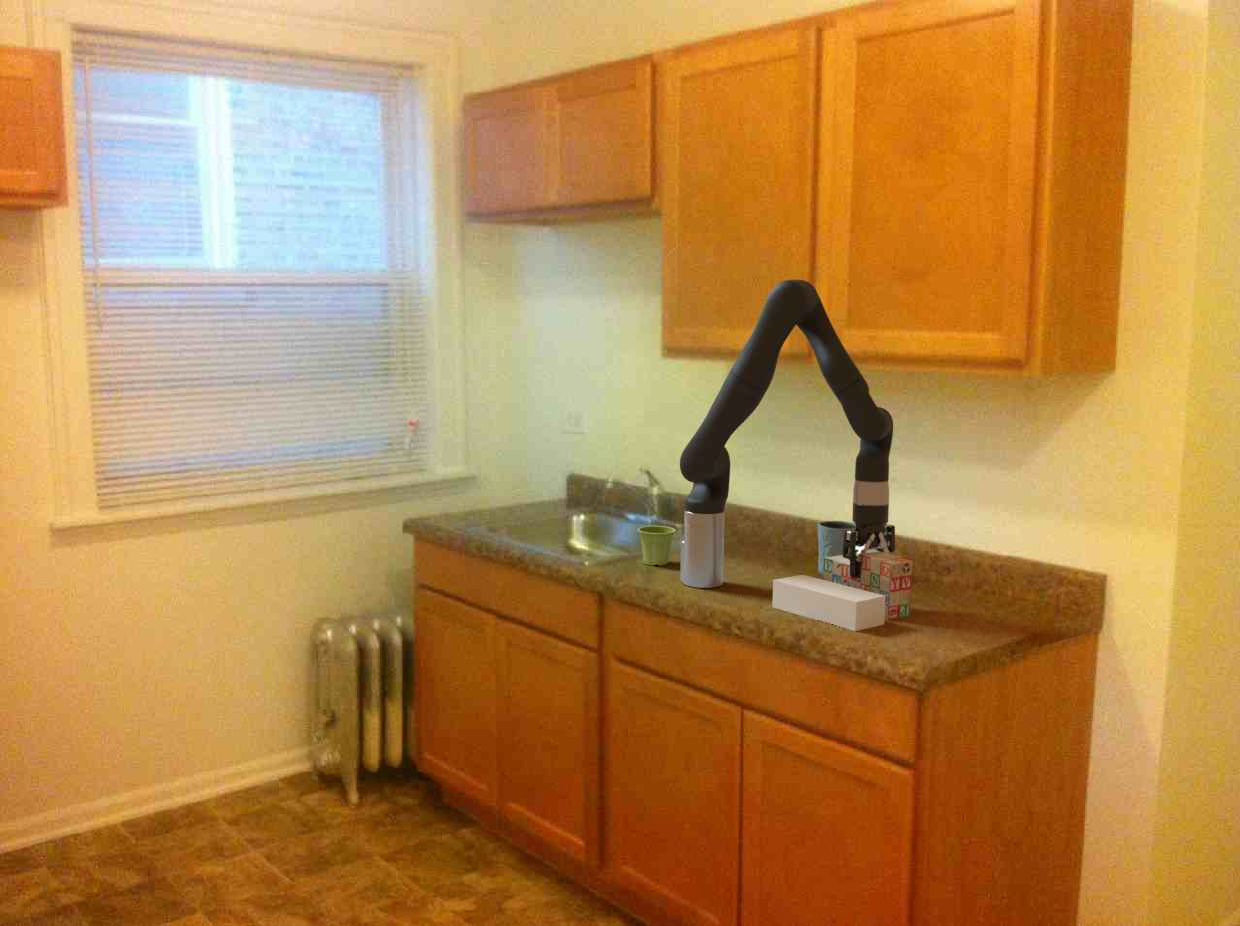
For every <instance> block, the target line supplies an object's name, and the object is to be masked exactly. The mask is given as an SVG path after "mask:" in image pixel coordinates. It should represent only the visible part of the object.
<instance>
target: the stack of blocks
mask: <svg viewBox="0 0 1240 926" xmlns="http://www.w3.org/2000/svg"><path fill="white" fill-rule="evenodd" d="M857 553H858V552H856V554H855V555H857ZM860 562H861V572H860V578H858V579H855V578H851V576H850V560H849V559H846V558H843V555H840V556H833V557H825V558H824V565H823V570H824V575H823V579H822V580H826V581H830V582H833V583H837V584H841V585H845V586H849V587H853V588H857V589H861V590H865V591H869V592H873V593H877V594H880V595H884V596H886V598H885V620H886V621H890V620H896V619H903V618H909V617H910V613H911V612H910V611H911V593H912V581H913V565H914V563H913V562H914V561H913V560H910V559H907V558H904V557H902V556H900V555H896V554H891V553H889V554H888V553H884V552H880V551H876V550H875V549H874V548H873V549H872V548H871V549H868V550H867V552H866V553H864V554H863V556H862V558H861V560H860Z"/></svg>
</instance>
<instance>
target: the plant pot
mask: <svg viewBox="0 0 1240 926" xmlns="http://www.w3.org/2000/svg"><path fill="white" fill-rule="evenodd" d="M637 532H638V533H639V537H640V543H641V544H640V545H641V552H642V561H643V564H645V565H647V566H655V565H658V566H661V567H663V566H666V565H667V564H668V563H669V559H670V558H669V557H670V551H671V546H672V540H673V538H674V534H675V532H676V529H675V528H673V527H670V526H665V525H664V526H663V525H647V526H641V527H638V528H637Z"/></svg>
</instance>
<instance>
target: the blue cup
mask: <svg viewBox="0 0 1240 926" xmlns="http://www.w3.org/2000/svg"><path fill="white" fill-rule="evenodd" d="M855 527H856V524H855V523H854V522H849V521H843V520H824V521H820V522H818V523H817V538H818V539H817V541H818V543H817V544H818V550H817V552H818V560H817V561H818V562H817V565H818V566H817V567H818V569H817V570H818V573H819V574H821V575H823V576H824V570H823V565H824V558H825V557H833V556H840V555H843V543H844V532H845V531H846V530H848V531H854V530H855ZM848 553H850V548H848Z"/></svg>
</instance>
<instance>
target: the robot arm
mask: <svg viewBox="0 0 1240 926" xmlns="http://www.w3.org/2000/svg"><path fill="white" fill-rule="evenodd" d="M796 326H797V327H798V329H799V330H800V331H801V333H803V335H804V336H805V337H806V339H807V341H808V342H809V345H810V346H811V348H812V350H813V353H814V355H815V359H816V361H817V363H818V367H819V369H820V372H821V375H822V376H823V378H824V380H825V382H826V383H827V385H828V387H829V389H830V390H831V392H833V395H834V396H835V397H836V399H837V401H839V403H840V405H841V407H842V411H843V412H844V414H845V417H846V419H847V421H848V423H849V425H850V427H851V429H852V431H854V433H855V435H856V436H857V437H858V438H859V439H860V443H859V452H858V454H857V455H856V457H855V463H854V464H855V465H854V467H855V468H854V483H853V490H852V491H853V494H852V519H851V520H852V523H855V524H856V527H855V530H854V531H848V530H846V531H845V532H844V543H843V558H846V559H849V560H850V576H851V578H855V579H858V578H860V572H861V562H860V560H861V558H862V556H863V554H864V553H866V552H867V550H872V548H873V549H874V550H876V551H880V552H884V553H888V554H891V553H894V552H895V551H896V526H895V525H893V524H888V523H889V509H890V508H889V506H890V487H889V485H890V484H889V480H890V479H889V475H890V474H889V473H890V462H889V461H890V453H891V448H892V442H893V435H894V420H893V417H892V414H891V413H890V412H889V411H888V410H887V409H886V408H883V407H881V406H880V407H879V406H877V404H876V403H875V401H874V399H873V397H872V396H871V393H870V388H869V387H870V386H869V385H868V383H867V381H866V379H865V378H864V376H863V375H862V373H861V371H860V370H859V367H857V365H856V364H855V362H854V360H852V357H851V356H850V354H849V353H848V351H847V350H846V348H845V347H844V345H843V343H842V341H841V340H840V338H839V336H838V335H837V332H836V331H835V328H834V327H833V324H832V322H831V321H830V318H829V316H828V314H827V311H826V310H825V306H824V304H823V302H822V300H821V298H820V295H819V293H818V291H817V289H816V287H815V286H814V285H813V284H812V283H811V282H809V281H807V280H804V279H787V280H783V281H781V282H779V283H777V284H775V286H774V287H773V288H772V289H771V290H770V292H769V293H768V296H767V298H766V301H765V303H764V305H763V308H762V310H761V313H760V316H759V318H758V320H757V323H756V325H755V327H754V329H753V332H751V335H750V336H749V338H748V340H747V341H746V342H745V345H744V347H743V348H742V349H741V352H739V355H738V357H737V358H736V361H735V362H734V363H733V365H732V367H731V368H730V370H729V372H728V374H727V376H726V378H725V380H724V381H723V384H722V385H721V388H720V390H719V391H718V393H717V395H716V397H715V399H714V400H713V402H712V404H711V406H710V408H709V410H708V412H707V414H706V416H705V418H704V419H703V421H702V423H701V424H700V425H699V427H698V429H697V430H696V432H695V433H694V435H693V436H692V437H691V439H690V440H689V442H688V443H687V444H686V446H685V448H684V449H683V451H682V452H681V455H680V458H679V469H680V472H681V475H682V477H683V478H684V480H686V481H688V482H690V483H693V484H692V489H691V490H690V492H689V494H688V495H687V496H686V497H685V499H684V519H683V521H684V526H683V527H684V528H683V529H684V531H683V540H682V541H681V543H680V569H679V570H680V573H679V575H680V579H679V580H680V581H679V582H682V583H683V585H685V586H688V587H693V588H700V589H701V588H703V589H704V588H705V589H706V588H707V589H708V588H717V587H721V586H722V585H723V583H724V551H725V549H724V545H725V511H726V510H725V509H726V502H727V500H728V497H729V492H730V479H731V478H730V477H731V458H730V454H729V451H728V449H727V447H726V445H727V442H728V441H729V439H730V438H731V437H732V435H733V434H734V433H735V432H736V431H737V430H738V428H739V427H740V426H741V425H743V423H745V422H746V421H747V419H748V418H750V416H751V415H752V414H753V412H755V410H756V409H757V408H758V406H759V405H760V404H761V402H762V400H763V398H764V396H765V395H766V393H767V391H768V389H770V385H771V383H772V382H773V378H774V376H775V372H776V368H777V364H778V359H779V355H780V353H781V350H782V347H783V346H784V344H785V342H786V340H787V339H788V338H789V336H790V334H791V333H792V331H793V329H794V328H795V327H796ZM848 548H850V553H848ZM856 552H858V553H857V555H855V554H856Z"/></svg>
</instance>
